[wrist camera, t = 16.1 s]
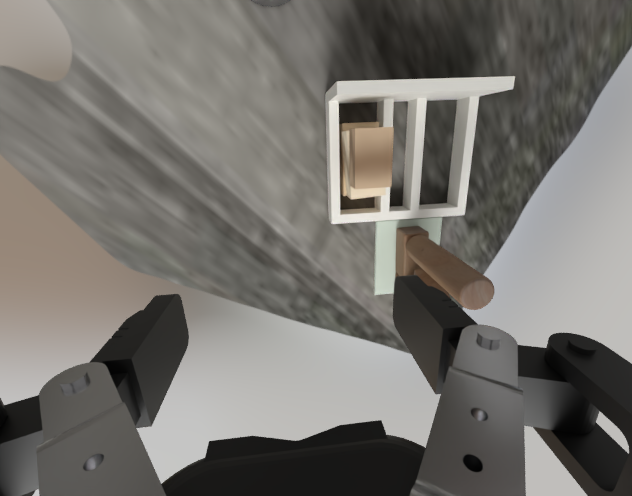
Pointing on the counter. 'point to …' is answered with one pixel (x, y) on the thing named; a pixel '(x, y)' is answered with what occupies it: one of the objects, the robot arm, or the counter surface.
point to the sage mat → (387, 248)
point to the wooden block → (440, 268)
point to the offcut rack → (410, 140)
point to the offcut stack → (365, 159)
